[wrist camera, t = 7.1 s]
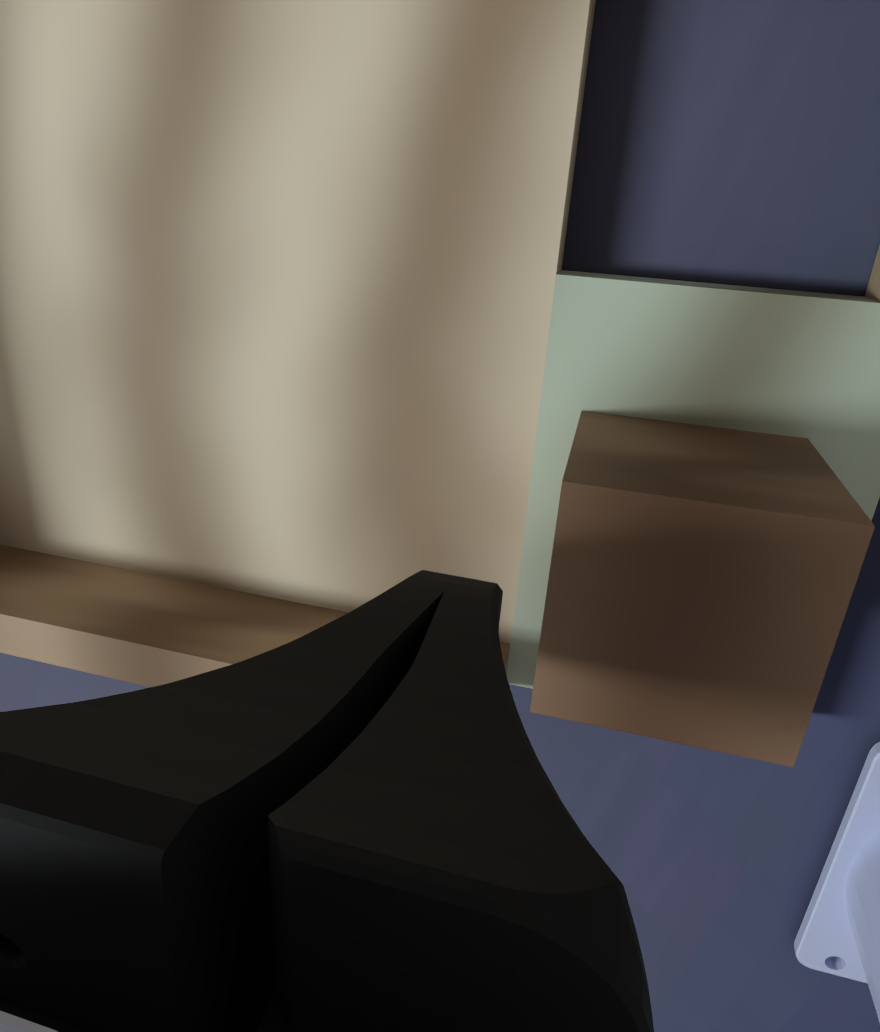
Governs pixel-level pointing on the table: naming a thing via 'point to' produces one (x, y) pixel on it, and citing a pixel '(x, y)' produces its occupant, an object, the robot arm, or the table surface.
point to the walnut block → (696, 584)
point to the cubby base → (332, 322)
